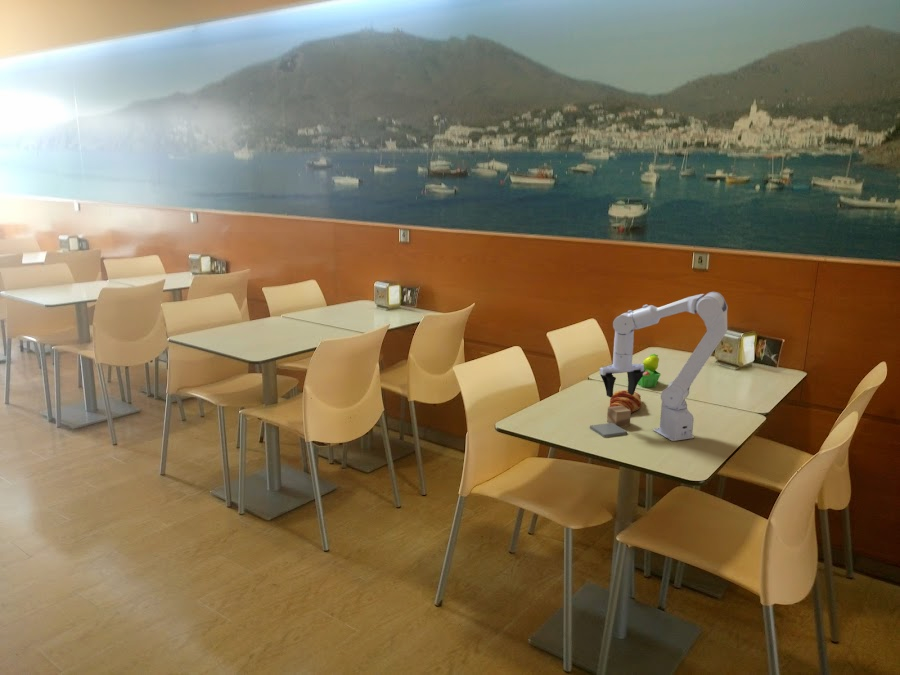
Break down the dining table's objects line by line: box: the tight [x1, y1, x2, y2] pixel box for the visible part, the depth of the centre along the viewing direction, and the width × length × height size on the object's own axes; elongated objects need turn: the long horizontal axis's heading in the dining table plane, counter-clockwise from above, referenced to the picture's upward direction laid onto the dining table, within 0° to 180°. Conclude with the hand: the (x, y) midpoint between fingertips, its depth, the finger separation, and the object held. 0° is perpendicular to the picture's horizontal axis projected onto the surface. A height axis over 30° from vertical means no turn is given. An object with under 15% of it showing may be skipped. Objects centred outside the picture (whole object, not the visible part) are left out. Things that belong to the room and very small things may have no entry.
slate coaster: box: [589, 422, 628, 438], centre depth 207 cm, size 8×8×1 cm
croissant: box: [608, 389, 642, 413], centre depth 226 cm, size 21×10×8 cm, turn 144°
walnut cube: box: [606, 406, 632, 428], centre depth 212 cm, size 5×5×5 cm
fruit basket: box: [637, 353, 662, 388], centre depth 253 cm, size 11×9×11 cm
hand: (620, 395), depth 211 cm, fingers open, 7 cm apart
